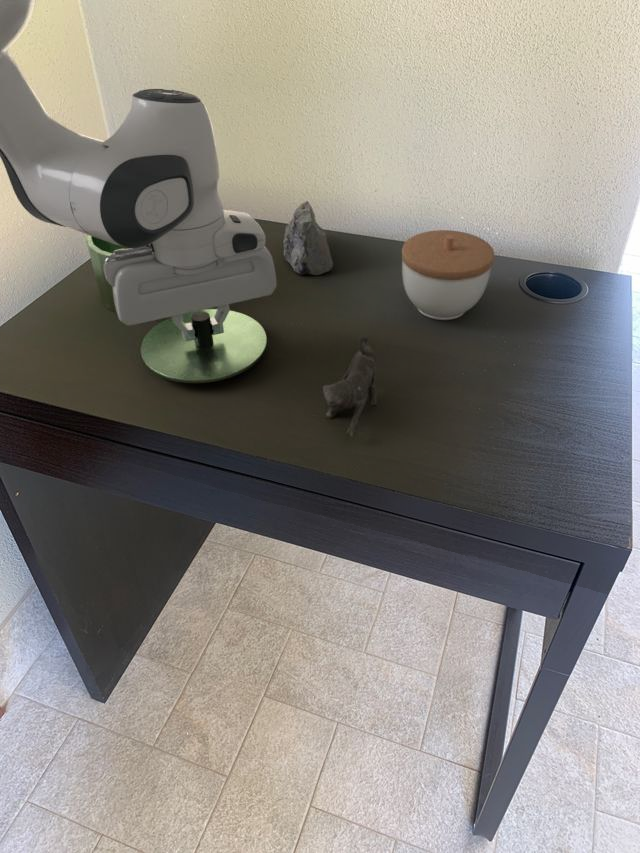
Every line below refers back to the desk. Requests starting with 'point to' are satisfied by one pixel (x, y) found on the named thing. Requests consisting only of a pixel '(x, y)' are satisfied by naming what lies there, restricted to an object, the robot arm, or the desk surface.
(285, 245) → the mineral rock
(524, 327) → the desk surface
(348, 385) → the dog figurine
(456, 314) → the lidded bowl
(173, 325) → the tin lid
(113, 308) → the waste tin
